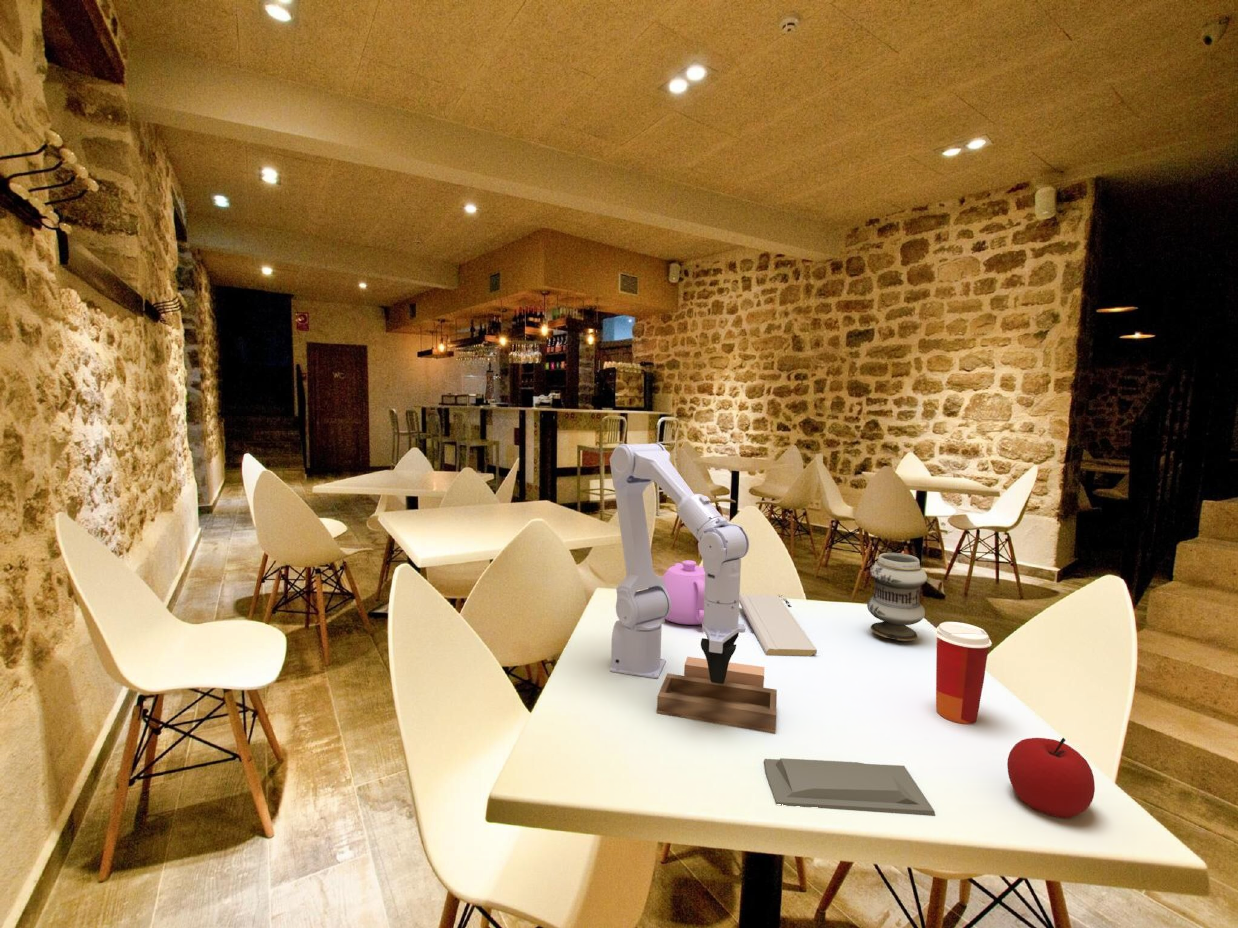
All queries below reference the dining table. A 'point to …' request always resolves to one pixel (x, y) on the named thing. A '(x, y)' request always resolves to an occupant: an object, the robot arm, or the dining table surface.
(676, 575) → the teapot
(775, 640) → the baseboard
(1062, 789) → the apple
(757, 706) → the tray
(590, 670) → the dining table surface
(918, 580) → the apothecary jar
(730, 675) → the clay block
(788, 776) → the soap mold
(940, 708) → the coffee cup
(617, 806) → the dining table surface
